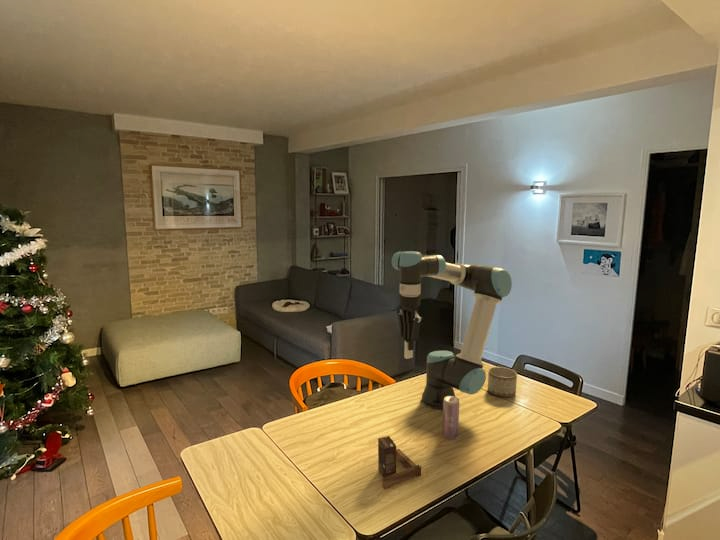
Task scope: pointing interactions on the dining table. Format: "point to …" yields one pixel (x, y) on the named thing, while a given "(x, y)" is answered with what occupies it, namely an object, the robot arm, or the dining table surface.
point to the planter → (502, 381)
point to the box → (386, 456)
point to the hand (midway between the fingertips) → (408, 357)
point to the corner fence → (405, 475)
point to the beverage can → (450, 417)
